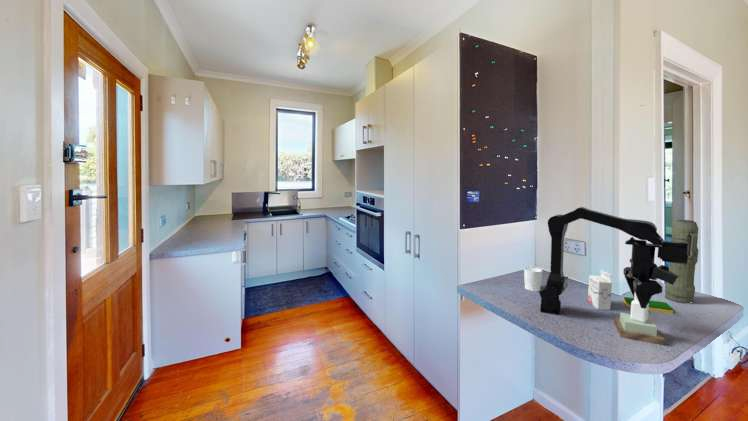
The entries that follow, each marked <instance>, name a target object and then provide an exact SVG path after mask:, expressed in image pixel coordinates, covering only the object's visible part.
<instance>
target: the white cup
mask: <svg viewBox="0 0 748 421" xmlns="http://www.w3.org/2000/svg"><path fill="white" fill-rule="evenodd" d="M542 277H543V269H541V268H539V267H534V266H526V267H523V278H524V279H523V280H524V289H525V290H526V289H527V291H529V290H530V292H540V291H541V289H542V288H541V287H542Z"/></svg>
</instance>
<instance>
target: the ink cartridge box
mask: <svg viewBox="0 0 748 421" xmlns="http://www.w3.org/2000/svg"><path fill="white" fill-rule="evenodd" d="M612 277H613V276H612V275H611V274H610V273H608V272H606V271H604V270H603V269H600V275H588V287H587V289H588V291H587V302H589V303H590V304H591V305H592V306H593V307H594V308H596V309H597V310H611V305H612V304H611V303H612V287H613V286H612V285H613V283H612V282H613V280H612Z"/></svg>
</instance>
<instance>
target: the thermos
mask: <svg viewBox="0 0 748 421" xmlns="http://www.w3.org/2000/svg"><path fill="white" fill-rule="evenodd" d="M698 236H699V227H698V224H697V222H696V221H694V220H689V219H678V220H675V221H674V223H673V225H672V231H671V241H670V242H687V243H688V246H687V252H688V260H687V264H680V263H672V262H668V268H669V271H671V272H672V273H674V274H676V275H677V276H678V278H677V280H676V281H675V283H674V284H673V285H672V284H669V283H668V282H665V288H664V292H665V296H664V298H665V299H666V300H668V301H672V302H675V303H680V304H685V303H690V302H693V303H694V298H695V295H696V286H695V284H694V282H695V274H696V265H697V264H698V258H699V248H698V238H699V237H698Z"/></svg>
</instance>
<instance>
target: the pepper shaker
mask: <svg viewBox="0 0 748 421" xmlns="http://www.w3.org/2000/svg"><path fill="white" fill-rule="evenodd" d="M633 298H634V300H633V301H632V302H631V308H630V314H631V315H630V318H631V319H632V320H636V321H639V322H643V323H645V322H646V321H647V320H648V317H649V312H650V310H649V304H648V305H647V307H646V308H645V309H644V308H641V306H640V304H639V301H638V299H637V296H636V293H634V297H633Z"/></svg>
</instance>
